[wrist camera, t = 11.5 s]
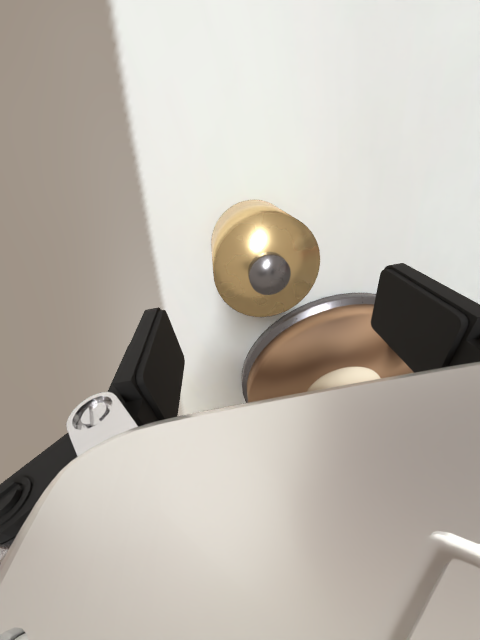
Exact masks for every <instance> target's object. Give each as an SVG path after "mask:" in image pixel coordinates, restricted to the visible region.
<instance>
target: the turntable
mask: <svg viewBox="0 0 480 640" xmlns="http://www.w3.org/2000/svg"><path fill="white" fill-rule="evenodd" d="M373 308H374V304H354V305H347V306H340V307H336V308H332V309H328V310H325V311H321V312H319V313H316V314H314V315H311V316H308V317H306V318H304V319H303V320H301V321H299V322H297V323H295V324H293V325H292V326H290V327H288V328H287V329H285V330H284V331H282V332H281V333H280V334H279V335H277V336H276V337H275V338H274V339H273V340H272V341H271V342H270V343H269V344H268V345H267V346H266V347H265V348H264V349H263V350H262V351H261V353H260V354H259V355H258V357H257V358H256V360H255V362H254V363H253V365H252V367H251V370H250V372H249V375H248V380H247V397H248V403H249V402H255V401H260V400H265V399H271V398H276V397H282V396H287V395H292V394H298V393H303V392H309V391H314V390H320V389H326V388H331V387H337V386H342V385H348V384H353V383H359V382H365V381H370V380H376V379H381V378H387V377H393V376H399V375H404V374H410V373H414V372H413V371H412V370H411V369H410V368H409V367H408V366H407V365H406V363H405V362H404V361H403V360H402V359H401V358H400V357H399V356H398V355H397V354H396V353H395V352H394V351H393V350H392V349H391V348H390V347H389V345H388V344H387V343H386V342H385V341H384V340H383V339H382V338H381V337H380V336H379V335H378V334H377V333H376V332H375V331H374V330H373V328H372V326H371V317H372V313H373Z"/></svg>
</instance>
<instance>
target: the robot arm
mask: <svg viewBox="0 0 480 640" xmlns="http://www.w3.org/2000/svg"><path fill="white" fill-rule="evenodd" d="M371 326H372V328H373V330H374V331H375V332H376V333H377V334H378V335H379V336H380V337H381V338H382V339H383V340H384V341H385V342H386V343H387V344H388V345H389V347H390V348H391V349H392V350H393V351H394V352H395V353H396V354H397V355H398V356H399V357H400V358H401V359H402V360H403V361H404V362H405V363H406V365H407V366H408V367H409V368H410V369H411V370H412V371H413V372H414V373H410V374H404V375H399V376H393V377H387V378H381V379H376V380H370V381H365V382H359V383H353V384H348V385H342V386H337V387H331V388H326V389H320V390H314V391H309V392H303V393H298V394H292V395H287V396H282V397H276V398H271V399H265V400H260V401H255V402H249V403H244V404H238V405H233V406H228V407H222V408H217V409H212V410H207V411H202V412H197V413H192V414H187V415H182V416H177V415H178V408H179V400H180V393H181V386H182V378H183V371H184V364H185V360H184V355H183V353H182V350H181V348H180V345H179V343H178V340H177V338H176V335H175V333H174V330H173V328H172V325H171V323H170V320H169V318H168V315H167V313H166V311H165V310H161V309H160V308H154V309H148V310H145V311H144V314H143V316H142V318H141V320H140V323H139V325H138V327H137V329H136V332H135V334H134V336H133V338H132V340H131V343H130V344H129V346H128V348H127V350H126V352H125V355H124V357H123V359H122V361H121V364H120V366H119V368H118V370H117V372H116V374H115V377H114V379H113V381H112V383H111V386H110V388H109V390H108V392H102V393H98V394H95V395H93V396H91V397H89V398H87V399H85V400H84V401H83V402H82V403H80V404H79V405H78V406H77V407H76V408H75V409H74V410H73V411H72V413H71V414H70V416H69V418H68V421H67V431H68V433H67V434H66V435H64V436H63V437H62V438H60V439H59V440H58V441H56V442H55V443H54V444H53V445H51V446H50V447H49V448H47V449H46V450H45V451H43V452H42V453H41V454H39V455H38V456H37V457H35V458H34V459H33V460H32V461H30V462H29V463H28V464H26V465H25V466H24V467H22V468H21V469H20V470H19V471H17V472H16V473H15V474H13V475H12V476H11V477H9V478H8V479H7V480H5V481H4V482H3V483H1V484H0V640H480V305H479V304H478V303H476V302H474V301H472V300H470V299H468V298H467V297H465V296H463V295H461V294H459V293H457V292H456V291H454V290H452V289H450V288H448V287H446V286H444V285H443V284H441V283H439V282H437V281H435V280H433V279H432V278H430V277H428V276H426V275H424V274H422V273H421V272H419V271H417V270H415V269H413V268H411V267H410V266H408V265H406V264H404V263H400V264H394V265H389V266H387V267H386V268H385V269H384V270H383V271H382V272H381V274H380V279H379V284H378V289H377V293H376V298H375V303H374V308H373V313H372V317H371Z"/></svg>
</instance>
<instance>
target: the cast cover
mask: <svg viewBox="0 0 480 640" xmlns="http://www.w3.org/2000/svg"><path fill="white" fill-rule="evenodd" d="M211 248H212V261H213V273H214V281H215V285H216V288H217V290H218V292H219V294H220V296H221V297H222V299H223V300H224V301H225V302H226V303H227V304H228V305H229V306H230V307H232V308H233V309H234V310H236V311H238V312H240V313H243V314H245V315H249V316H255V317H266V316H273V315H277V314H280V313H282V312H285V311H287V310H289V309H290V308H292V307H294V306H295V305H296V304H298V303H299V302H300V301H301V300H302V299H303V298H304V297H305V296H306V295H307V294H308V292H309V291H310V290H311V288H312V286H313V285H314V283H315V280H316V278H317V275H318V272H319V266H320V252H319V247H318V244H317V241H316V239H315V237H314V235H313V234H312V232H311V231H310V230H309V229H308V227H307V226H305V225H304V224H303V223H302V222H300V221H299V220H297V219H295V218H294V217H292V216H291V215H289V214H287V213H286V212H284V211H282V210H281V209H279V208H278V207H276V206H274V205H273V204H271V203H268V202H266V201H262V200H246V201H242V202H240V203H237V204H235V205H233V206H232V207H230V208H229V209H227V210H226V211H225V212H224V213H223V214H222V216H221V217H220V218H219V220H218V221H217V223H216V225H215V227H214V230H213V234H212V239H211Z"/></svg>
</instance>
